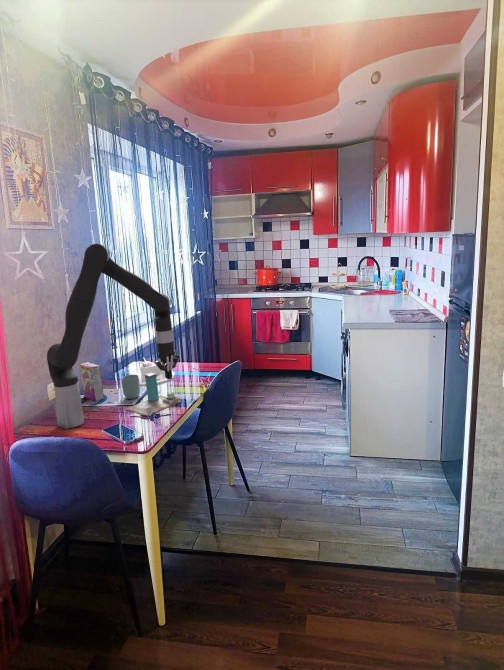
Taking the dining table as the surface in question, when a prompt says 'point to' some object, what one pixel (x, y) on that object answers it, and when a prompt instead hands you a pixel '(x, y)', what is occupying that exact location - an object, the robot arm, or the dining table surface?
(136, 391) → the cup
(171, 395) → the button
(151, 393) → the teal rectangular block
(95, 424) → the dining table surface
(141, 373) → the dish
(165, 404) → the clipboard
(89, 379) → the candy bar box
